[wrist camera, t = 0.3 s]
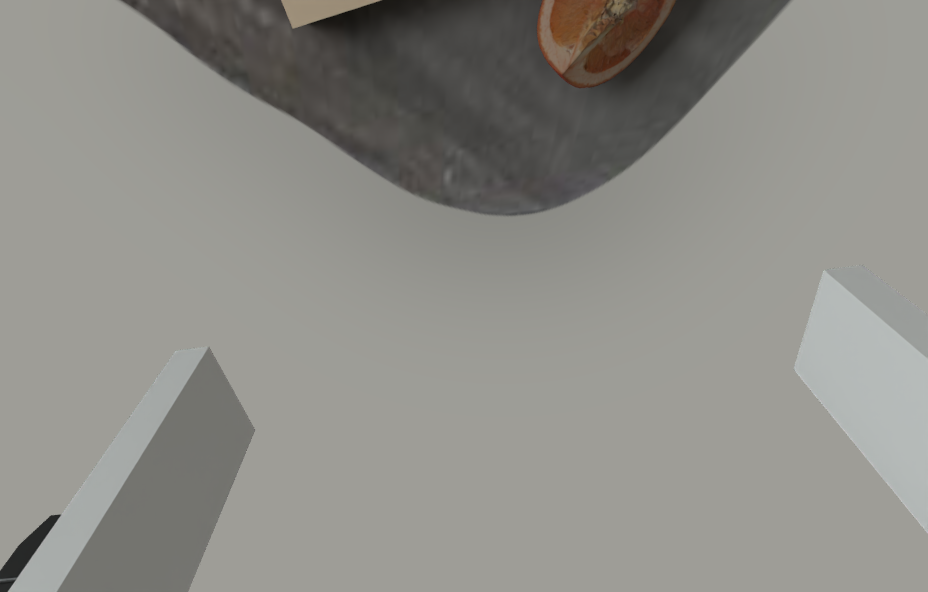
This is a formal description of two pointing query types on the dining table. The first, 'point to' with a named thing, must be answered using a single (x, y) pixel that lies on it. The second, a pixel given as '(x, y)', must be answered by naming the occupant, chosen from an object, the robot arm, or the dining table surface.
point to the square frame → (318, 9)
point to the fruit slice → (597, 36)
